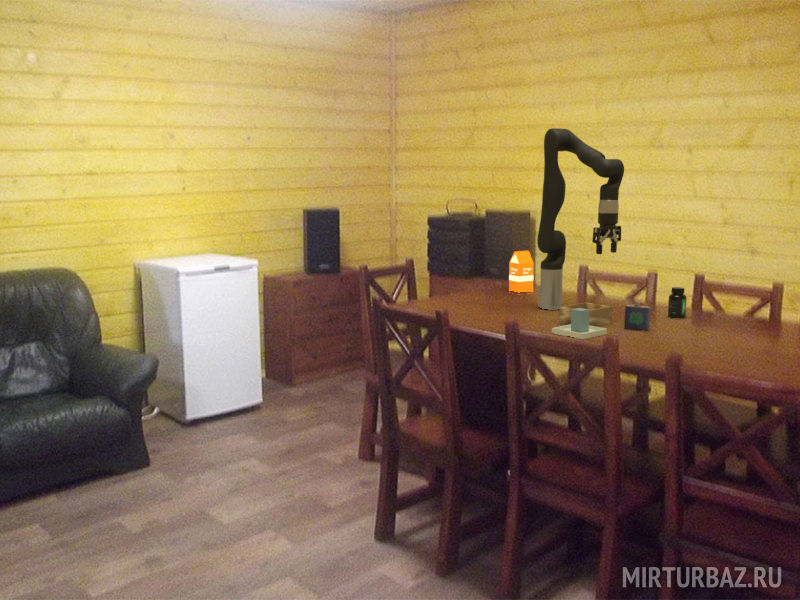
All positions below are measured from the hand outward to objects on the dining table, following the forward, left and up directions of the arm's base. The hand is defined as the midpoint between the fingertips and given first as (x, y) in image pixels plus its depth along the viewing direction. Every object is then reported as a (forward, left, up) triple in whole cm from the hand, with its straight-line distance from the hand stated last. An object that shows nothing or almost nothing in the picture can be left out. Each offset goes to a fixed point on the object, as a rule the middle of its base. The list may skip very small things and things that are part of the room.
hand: (606, 253), depth 317 cm
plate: (+10, -27, -27) cm, 39 cm away
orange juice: (-69, +26, -27) cm, 79 cm away
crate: (-1, -10, -27) cm, 29 cm away
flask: (+19, -5, -27) cm, 33 cm away
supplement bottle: (+15, +27, -27) cm, 41 cm away
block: (+10, -27, -26) cm, 38 cm away
